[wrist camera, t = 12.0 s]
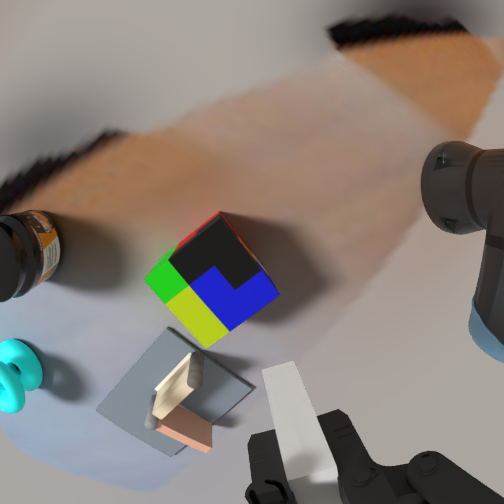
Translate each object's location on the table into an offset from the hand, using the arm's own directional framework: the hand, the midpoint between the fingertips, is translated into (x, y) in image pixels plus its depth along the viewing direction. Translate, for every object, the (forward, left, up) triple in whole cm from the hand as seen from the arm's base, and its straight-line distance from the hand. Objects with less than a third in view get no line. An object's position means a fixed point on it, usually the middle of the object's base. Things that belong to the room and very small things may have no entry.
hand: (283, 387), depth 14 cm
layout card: (+17, +20, -29) cm, 39 cm away
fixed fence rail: (+13, +15, -28) cm, 34 cm away
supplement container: (+29, -9, -29) cm, 42 cm away
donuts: (+42, +9, -29) cm, 52 cm away
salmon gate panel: (+15, +22, -27) cm, 38 cm away
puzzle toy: (+4, 0, -29) cm, 29 cm away
